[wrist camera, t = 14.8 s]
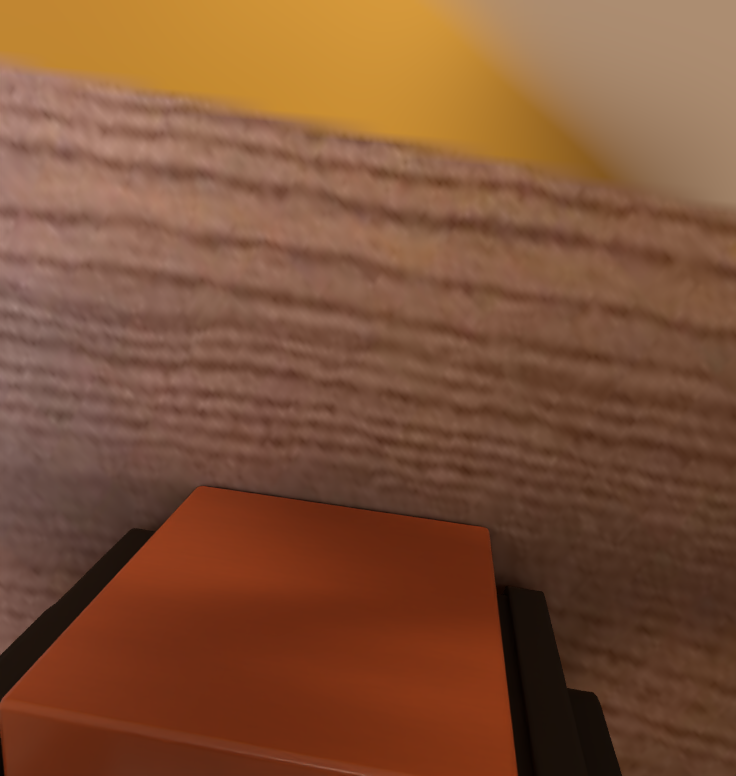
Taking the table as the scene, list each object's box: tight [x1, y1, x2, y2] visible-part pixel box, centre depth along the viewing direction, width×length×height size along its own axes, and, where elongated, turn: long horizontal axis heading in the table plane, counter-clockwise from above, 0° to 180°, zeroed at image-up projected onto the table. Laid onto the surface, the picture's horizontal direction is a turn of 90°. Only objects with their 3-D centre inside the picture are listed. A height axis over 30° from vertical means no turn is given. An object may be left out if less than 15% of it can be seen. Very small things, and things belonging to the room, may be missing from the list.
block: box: [0, 486, 518, 776], centre depth 8 cm, size 4×4×4 cm
